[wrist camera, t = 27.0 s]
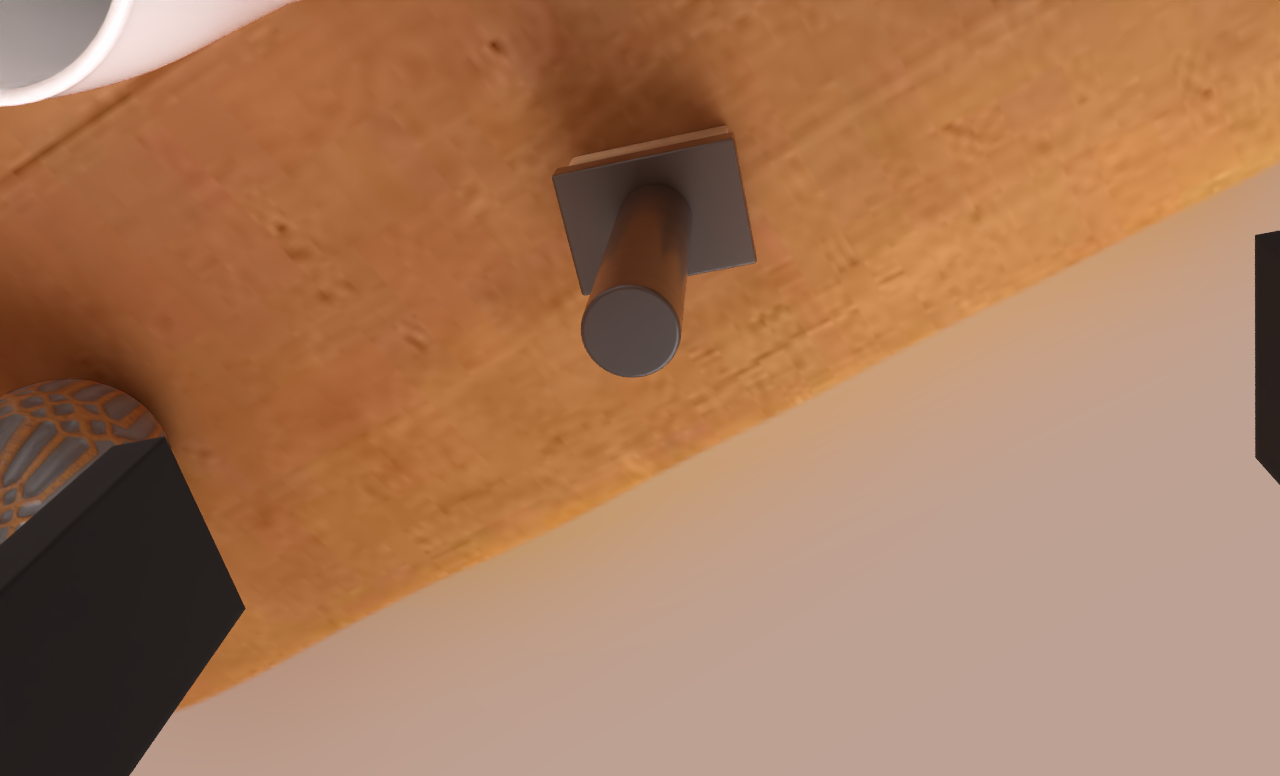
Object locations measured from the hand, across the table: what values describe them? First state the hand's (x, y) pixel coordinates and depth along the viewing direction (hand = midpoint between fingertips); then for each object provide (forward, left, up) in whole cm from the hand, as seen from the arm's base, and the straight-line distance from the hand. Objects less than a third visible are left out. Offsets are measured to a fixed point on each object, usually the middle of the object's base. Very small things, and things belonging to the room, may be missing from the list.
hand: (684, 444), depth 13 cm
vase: (+24, +7, -22) cm, 33 cm away
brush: (+2, +2, -22) cm, 22 cm away
